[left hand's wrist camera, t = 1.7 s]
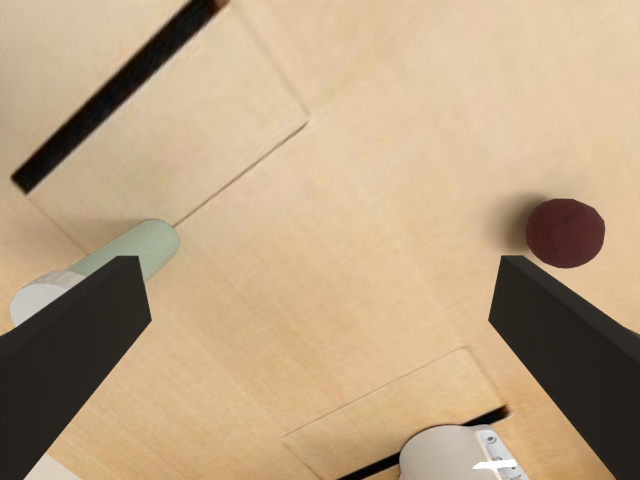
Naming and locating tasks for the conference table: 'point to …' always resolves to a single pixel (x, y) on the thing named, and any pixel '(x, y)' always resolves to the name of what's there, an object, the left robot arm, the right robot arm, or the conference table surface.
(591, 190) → the conference table surface
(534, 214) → the dark red ball
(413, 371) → the conference table surface
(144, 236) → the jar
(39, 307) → the lid
